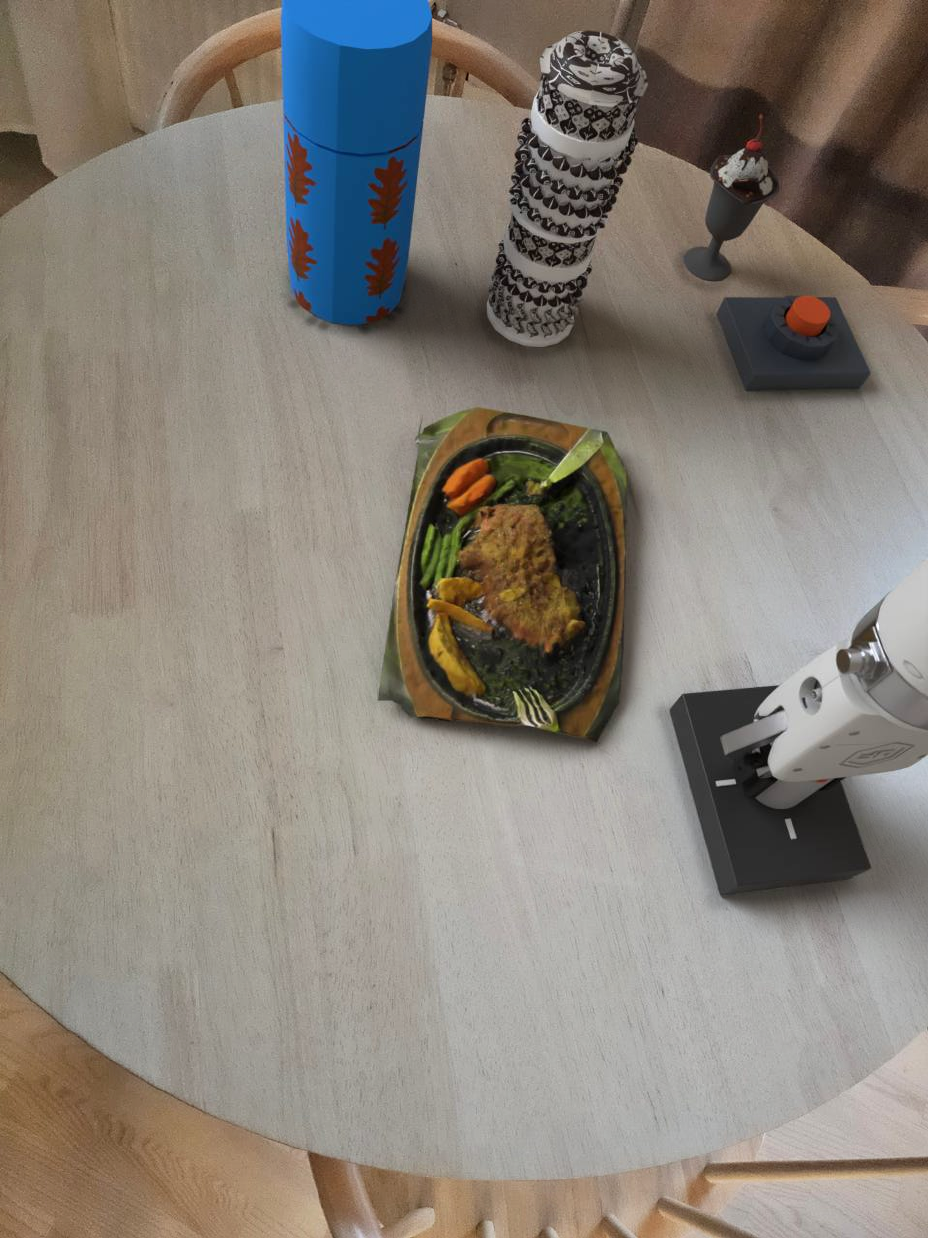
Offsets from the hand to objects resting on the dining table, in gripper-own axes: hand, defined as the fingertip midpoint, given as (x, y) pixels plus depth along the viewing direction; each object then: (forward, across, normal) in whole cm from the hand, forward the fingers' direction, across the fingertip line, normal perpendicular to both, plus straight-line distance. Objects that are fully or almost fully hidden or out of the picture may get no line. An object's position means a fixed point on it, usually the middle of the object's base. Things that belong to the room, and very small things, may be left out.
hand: (780, 773), depth 66 cm
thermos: (+4, -25, +52) cm, 58 cm away
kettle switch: (0, +17, +43) cm, 46 cm away
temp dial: (+1, 0, 0) cm, 1 cm away
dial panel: (+4, 0, 0) cm, 4 cm away
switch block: (+4, +17, +43) cm, 46 cm away
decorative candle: (+4, -8, +48) cm, 49 cm away
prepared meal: (+4, -15, +20) cm, 25 cm away
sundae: (+4, +12, +55) cm, 56 cm away
